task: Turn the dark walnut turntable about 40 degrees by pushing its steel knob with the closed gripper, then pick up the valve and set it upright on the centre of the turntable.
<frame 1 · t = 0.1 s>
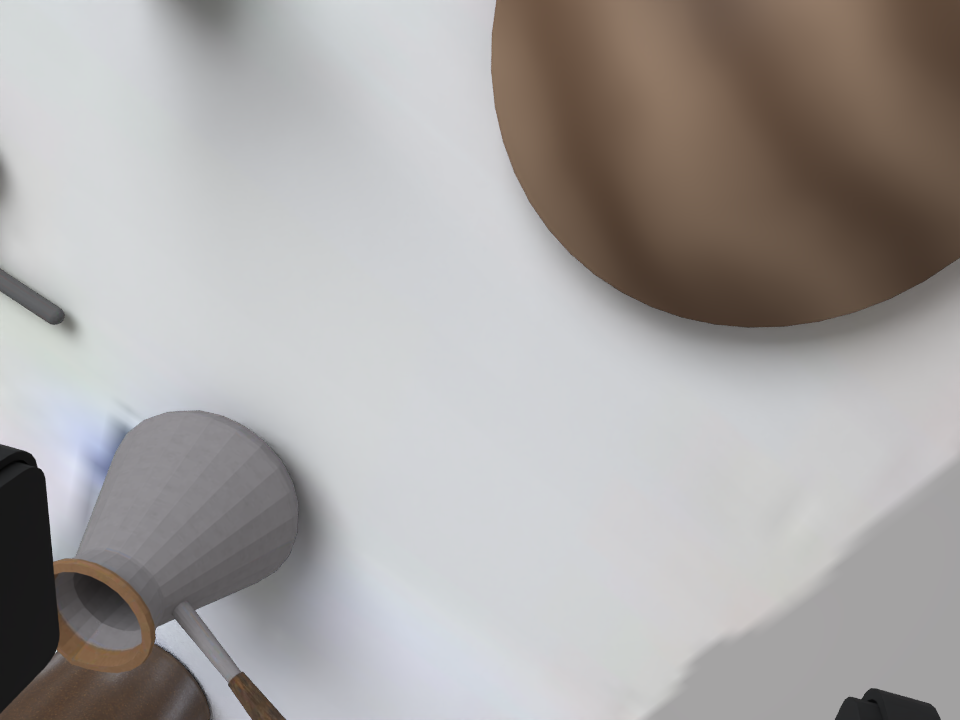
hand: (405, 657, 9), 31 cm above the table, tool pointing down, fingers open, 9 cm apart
plant pot: (140, 692, 60), on the table
coffee pot: (299, 517, 50), on the table
turntable platter: (773, 62, 30), point 4 cm above the table, hinge at 0.0°
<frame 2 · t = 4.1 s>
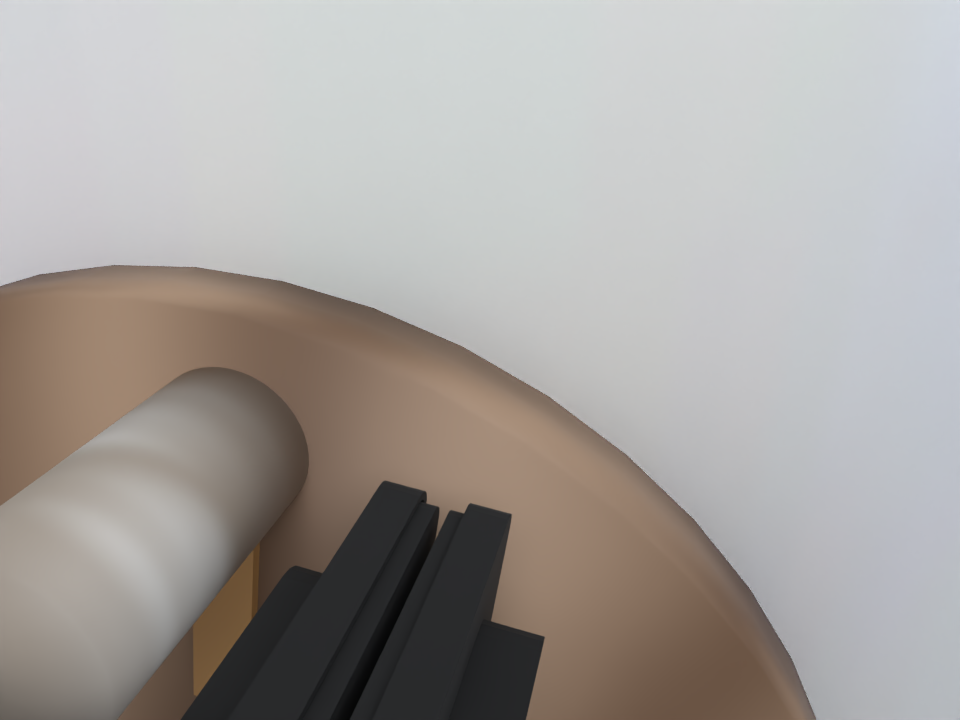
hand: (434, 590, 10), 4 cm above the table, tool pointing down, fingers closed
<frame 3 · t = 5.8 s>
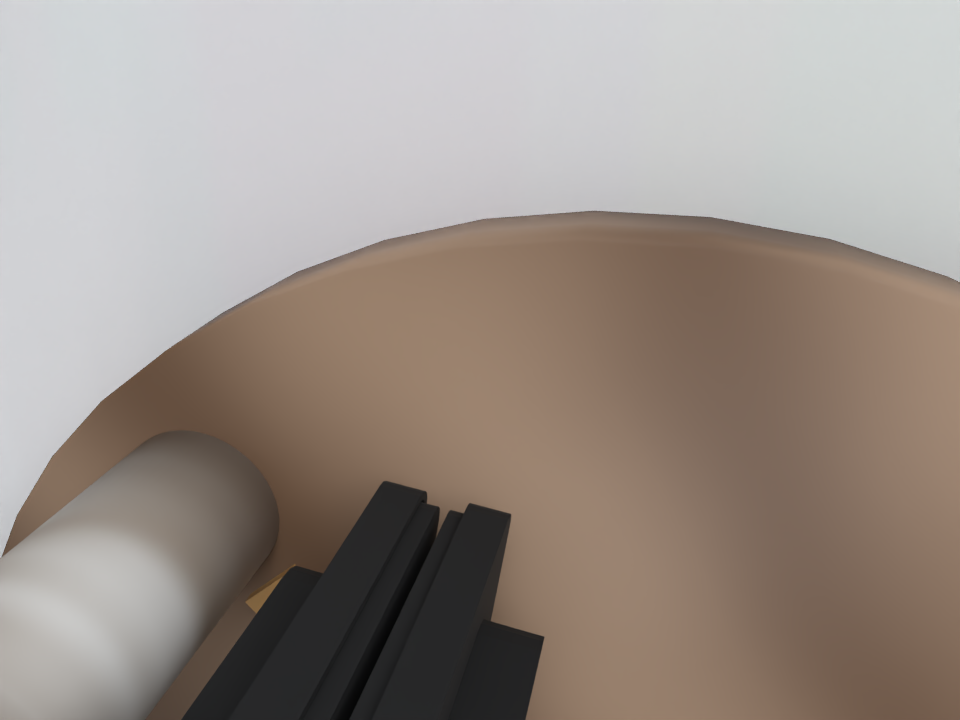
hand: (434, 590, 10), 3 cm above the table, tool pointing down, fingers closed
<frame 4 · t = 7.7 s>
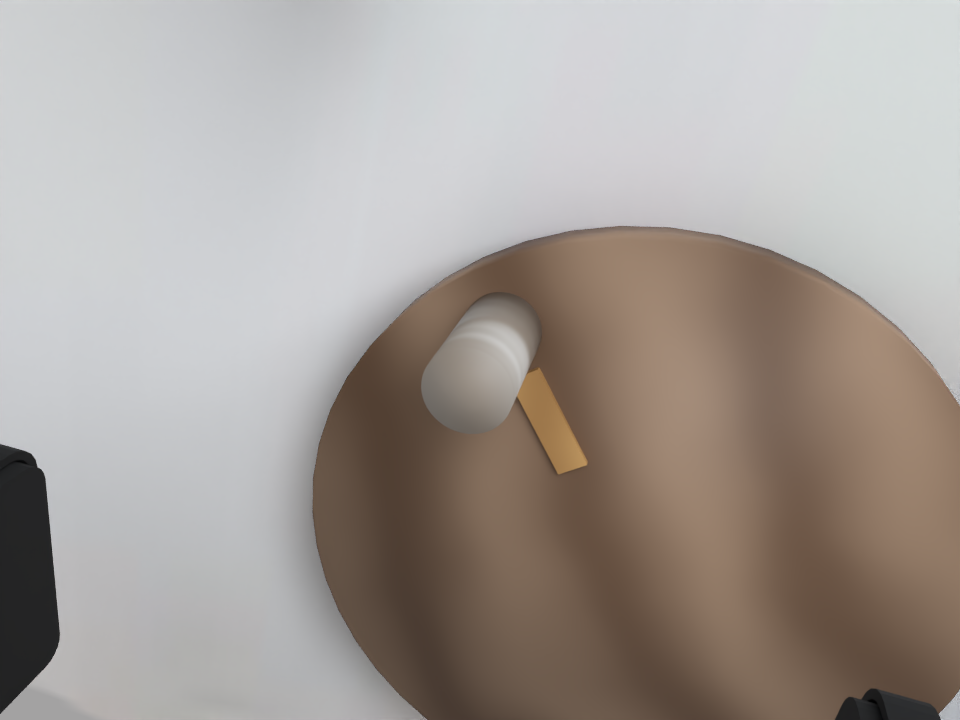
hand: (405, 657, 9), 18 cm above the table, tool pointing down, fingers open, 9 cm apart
turntable platter: (621, 595, 26), point 4 cm above the table, hinge at 51.6°
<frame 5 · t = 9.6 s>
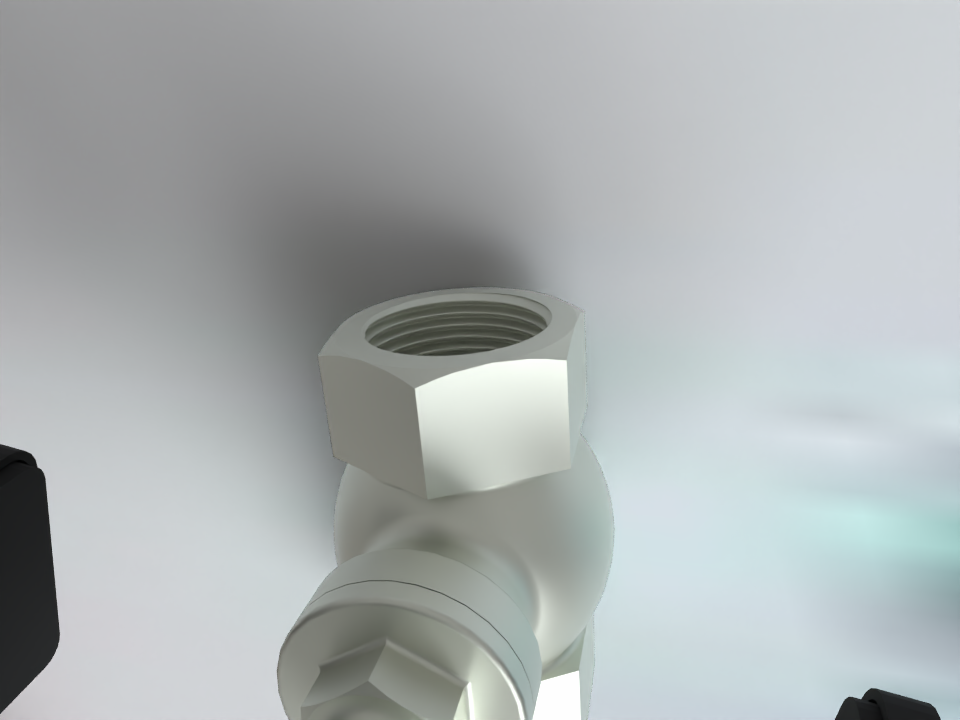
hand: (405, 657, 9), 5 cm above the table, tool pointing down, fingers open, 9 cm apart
valve: (504, 455, 15), on the table
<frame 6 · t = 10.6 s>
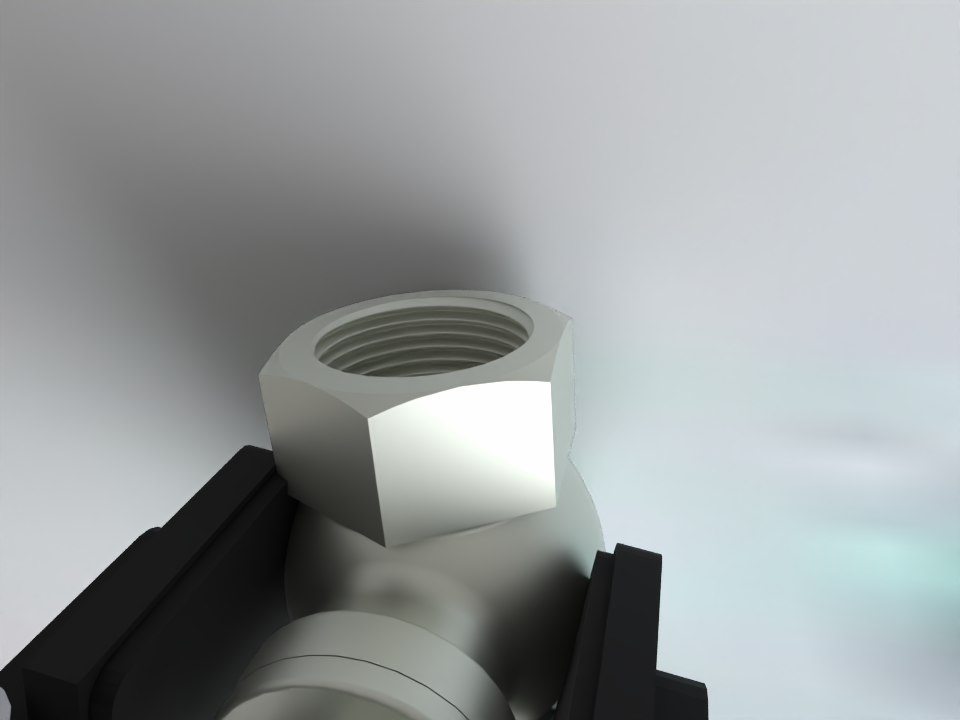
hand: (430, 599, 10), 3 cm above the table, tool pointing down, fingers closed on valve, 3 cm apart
valve: (484, 476, 13), on the table, touching gripper
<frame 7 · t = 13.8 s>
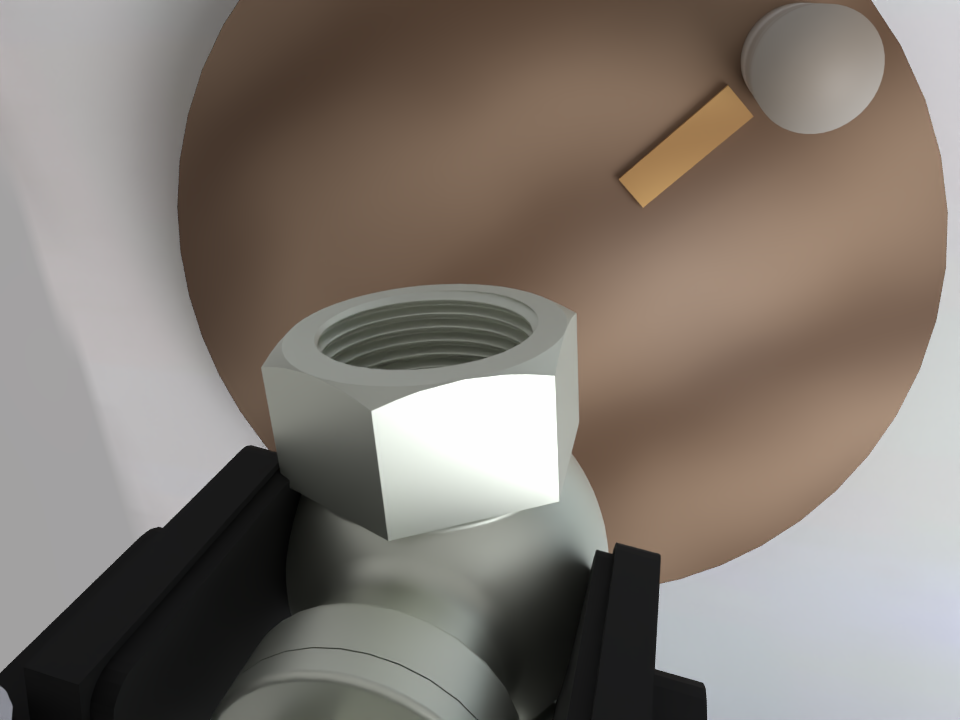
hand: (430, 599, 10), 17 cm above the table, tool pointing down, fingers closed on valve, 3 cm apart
valve: (486, 472, 13), point 14 cm above the table, touching gripper
turntable platter: (513, 299, 23), point 4 cm above the table, hinge at 51.6°
when the fingers open (7 cm above the table, at t = 16.3 s): valve drops 1 cm, resting on turntable platter.
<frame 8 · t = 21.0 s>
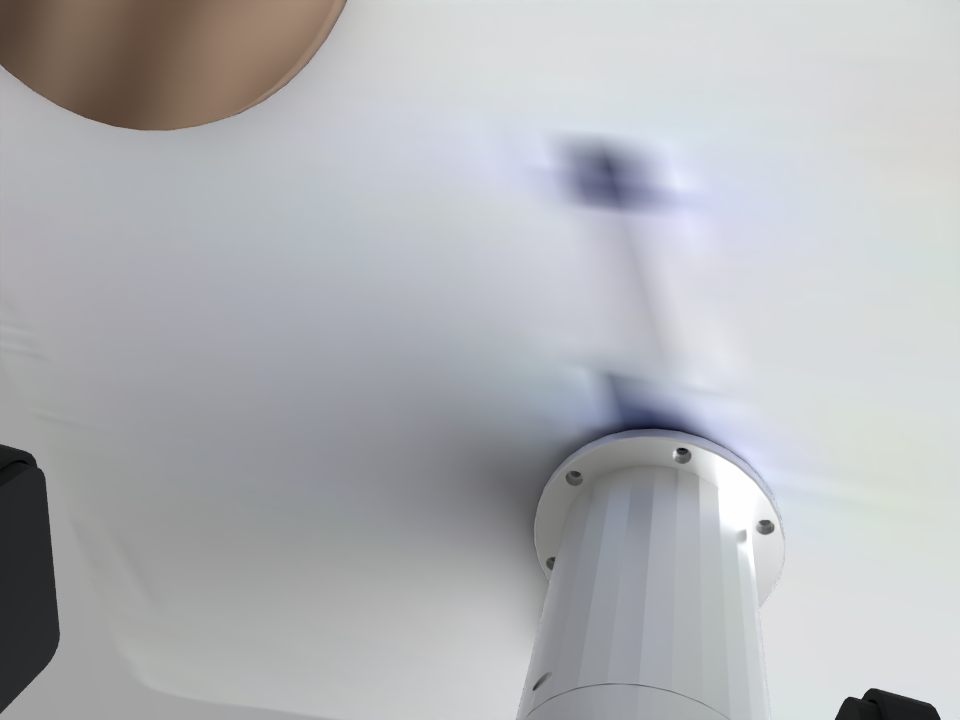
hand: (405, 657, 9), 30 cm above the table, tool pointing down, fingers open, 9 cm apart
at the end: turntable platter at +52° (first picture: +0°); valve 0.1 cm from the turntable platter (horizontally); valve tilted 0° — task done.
